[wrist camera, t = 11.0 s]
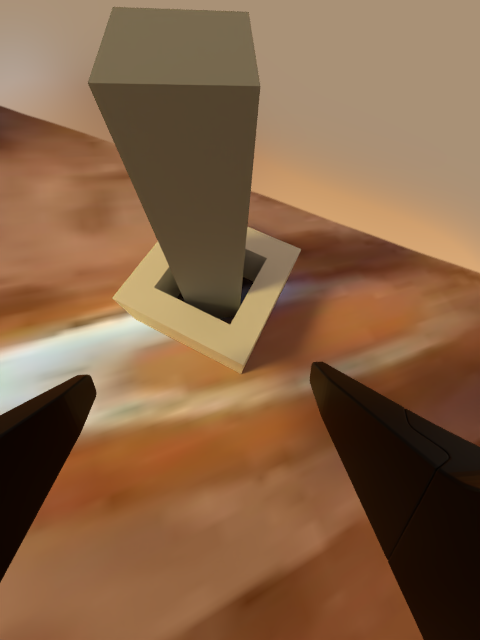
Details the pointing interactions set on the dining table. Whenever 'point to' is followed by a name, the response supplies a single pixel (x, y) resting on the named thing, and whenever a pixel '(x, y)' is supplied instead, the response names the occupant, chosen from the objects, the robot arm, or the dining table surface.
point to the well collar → (199, 327)
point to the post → (186, 137)
